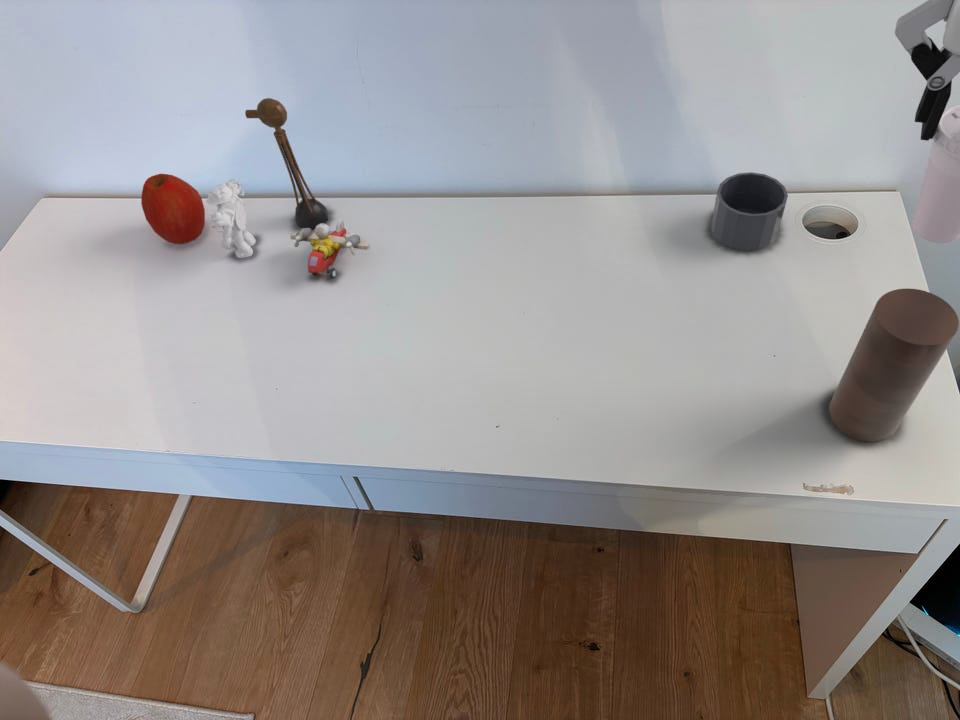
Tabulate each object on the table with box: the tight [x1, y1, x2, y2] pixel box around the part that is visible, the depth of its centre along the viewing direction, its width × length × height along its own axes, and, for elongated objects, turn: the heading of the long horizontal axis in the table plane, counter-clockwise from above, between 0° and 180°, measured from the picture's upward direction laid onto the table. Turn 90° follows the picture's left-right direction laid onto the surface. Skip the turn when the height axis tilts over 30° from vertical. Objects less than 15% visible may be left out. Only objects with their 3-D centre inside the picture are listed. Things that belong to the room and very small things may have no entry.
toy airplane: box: [289, 218, 371, 279], centre depth 100 cm, size 9×9×6 cm
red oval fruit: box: [140, 173, 206, 245], centre depth 105 cm, size 8×8×11 cm
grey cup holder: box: [710, 171, 789, 252], centre depth 94 cm, size 8×8×6 cm
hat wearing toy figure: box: [206, 178, 257, 259], centre depth 101 cm, size 9×4×12 cm, turn 178°
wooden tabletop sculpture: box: [244, 97, 329, 231], centre depth 100 cm, size 6×5×20 cm
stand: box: [828, 287, 960, 443], centre depth 71 cm, size 7×7×16 cm
